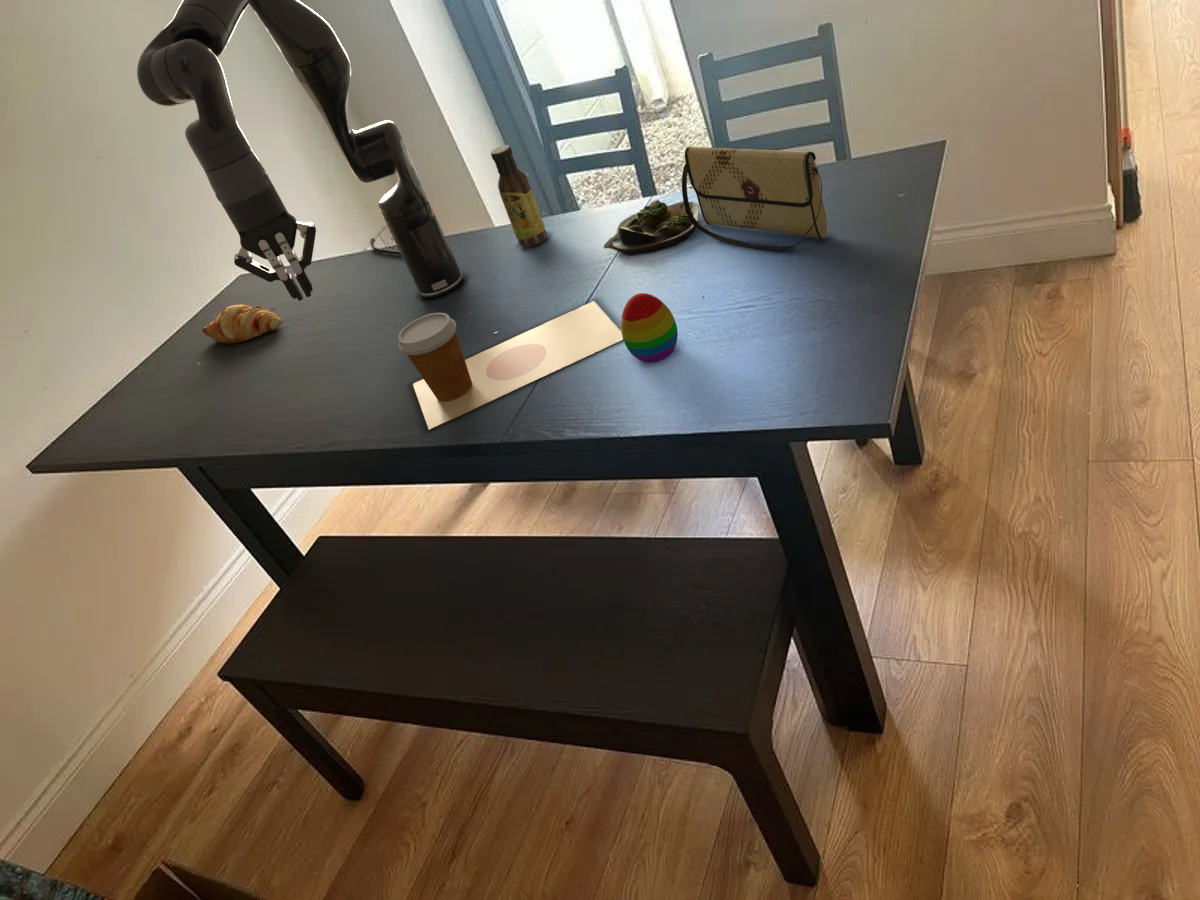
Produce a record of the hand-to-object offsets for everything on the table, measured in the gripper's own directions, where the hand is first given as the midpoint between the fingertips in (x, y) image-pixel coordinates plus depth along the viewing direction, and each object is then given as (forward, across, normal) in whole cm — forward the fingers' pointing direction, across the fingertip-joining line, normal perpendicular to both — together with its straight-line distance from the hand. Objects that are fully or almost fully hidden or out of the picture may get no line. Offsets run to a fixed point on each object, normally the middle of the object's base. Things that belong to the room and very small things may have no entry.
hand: (304, 296), depth 142 cm
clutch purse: (+23, -72, -1) cm, 76 cm away
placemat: (+23, -25, +4) cm, 34 cm away
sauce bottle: (+23, -41, -42) cm, 63 cm away
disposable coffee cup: (+23, -14, +4) cm, 27 cm away
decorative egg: (+23, -44, +20) cm, 54 cm away
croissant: (+23, +22, -61) cm, 69 cm away
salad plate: (+23, -60, -20) cm, 67 cm away
